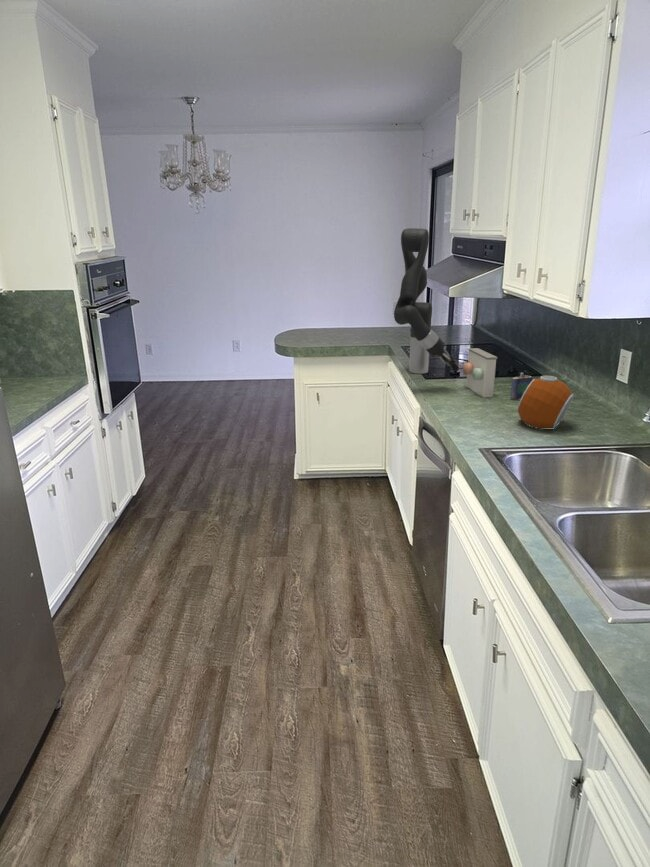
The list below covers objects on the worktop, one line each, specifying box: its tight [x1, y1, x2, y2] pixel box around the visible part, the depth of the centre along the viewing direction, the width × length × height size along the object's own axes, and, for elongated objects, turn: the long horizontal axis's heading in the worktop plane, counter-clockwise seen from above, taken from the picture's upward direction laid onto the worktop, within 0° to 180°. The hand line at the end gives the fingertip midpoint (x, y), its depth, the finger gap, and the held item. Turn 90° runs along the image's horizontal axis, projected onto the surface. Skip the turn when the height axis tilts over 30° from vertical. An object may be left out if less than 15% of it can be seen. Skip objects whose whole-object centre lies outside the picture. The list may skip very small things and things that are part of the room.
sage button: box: [472, 368, 483, 380], centre depth 242 cm, size 5×8×5 cm, turn 100°
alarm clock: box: [516, 375, 575, 429], centre depth 206 cm, size 19×18×17 cm
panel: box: [465, 347, 498, 398], centre depth 247 cm, size 19×4×17 cm, turn 10°
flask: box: [509, 372, 533, 400], centre depth 238 cm, size 9×3×11 cm, turn 109°
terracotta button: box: [462, 362, 473, 376], centre depth 251 cm, size 5×8×5 cm, turn 100°
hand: (456, 369), depth 250 cm, fingers closed
